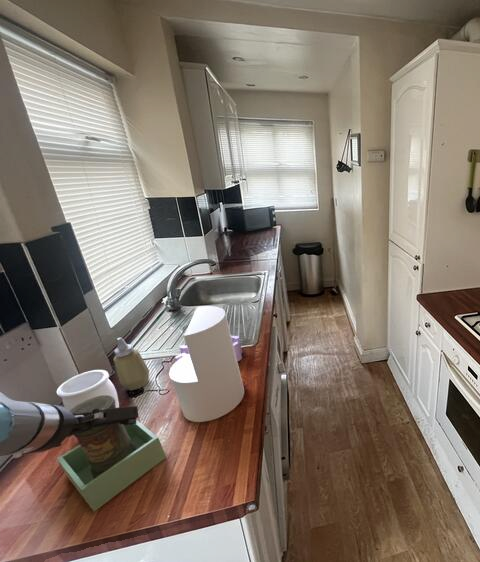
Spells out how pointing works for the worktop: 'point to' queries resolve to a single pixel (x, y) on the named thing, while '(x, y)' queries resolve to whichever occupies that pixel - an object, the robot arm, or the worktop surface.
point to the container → (103, 438)
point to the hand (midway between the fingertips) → (98, 428)
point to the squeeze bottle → (130, 366)
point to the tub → (113, 467)
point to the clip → (235, 343)
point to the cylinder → (207, 368)
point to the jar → (86, 388)
